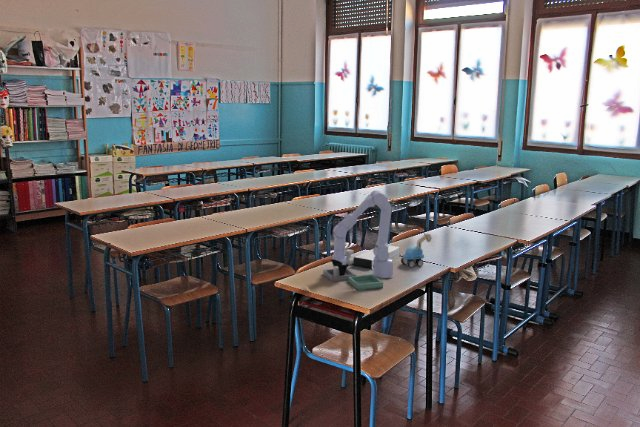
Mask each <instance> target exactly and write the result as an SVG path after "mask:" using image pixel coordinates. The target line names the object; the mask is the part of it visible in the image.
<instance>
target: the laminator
mask: <svg viewBox="0 0 640 427" xmlns="http://www.w3.org/2000/svg"><path fill="white" fill-rule="evenodd" d="M373 249H374V248H372V249H369V250H367V251H365V252H363V253H360V254H358V255H356V256H354V264H353V267H357V268H362V269H369V270H370V271H374V257H375V255H374V253H373ZM388 252H389V257H388V259H391V260H392V261H394V260H396V259H397V258H400V255H401V247H400V246H395V245H390V244H389V245H388Z"/></svg>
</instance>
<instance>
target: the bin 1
mask: <svg viewBox="0 0 640 427" xmlns="http://www.w3.org/2000/svg"><path fill="white" fill-rule="evenodd" d="M333 269H334V268H331V269H330V268H329V269H322V271H323V272H322V274H323V276H325V277H326V278H327V279H328V280H329V281H330V282H332V283H333V282H341V281H348V277H352V276H357V274H356V273H354V272H353V271H352V270H350V269H349V268H348V267H347V269H346V272H345V275H343V276H333Z"/></svg>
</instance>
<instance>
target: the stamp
mask: <svg viewBox="0 0 640 427" xmlns="http://www.w3.org/2000/svg"><path fill="white" fill-rule="evenodd" d="M354 251H355V250H353V249H349V248H348V249H345V257H346V263H348V266H351V265H354V257H355V256H354V257H352V255H353V254H354Z"/></svg>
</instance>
